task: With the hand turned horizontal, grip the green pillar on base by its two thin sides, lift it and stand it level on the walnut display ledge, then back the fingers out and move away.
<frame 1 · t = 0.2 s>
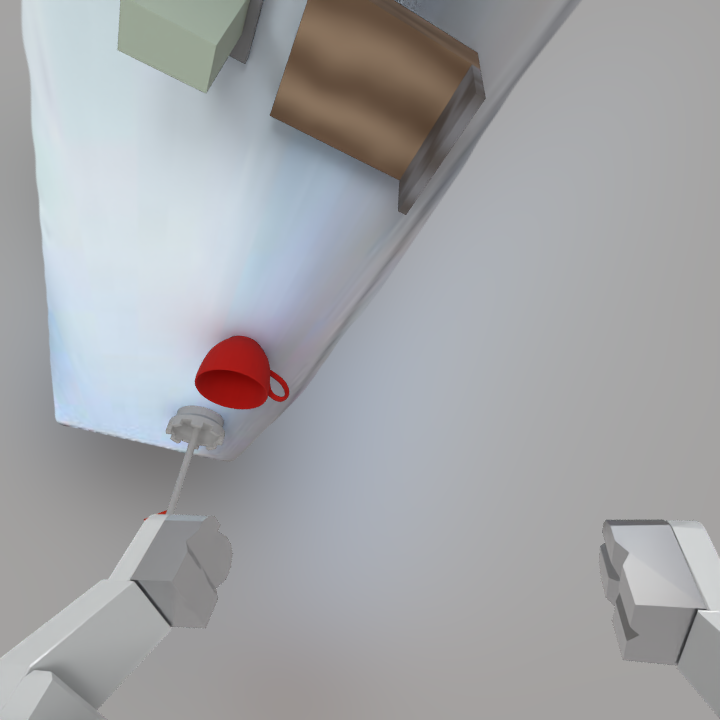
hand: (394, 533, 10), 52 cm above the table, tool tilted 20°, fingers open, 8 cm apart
display ledge: (372, 76, 51), on the table
flag stand: (201, 416, 115), on the table
ceramic cup: (254, 349, 91), on the table
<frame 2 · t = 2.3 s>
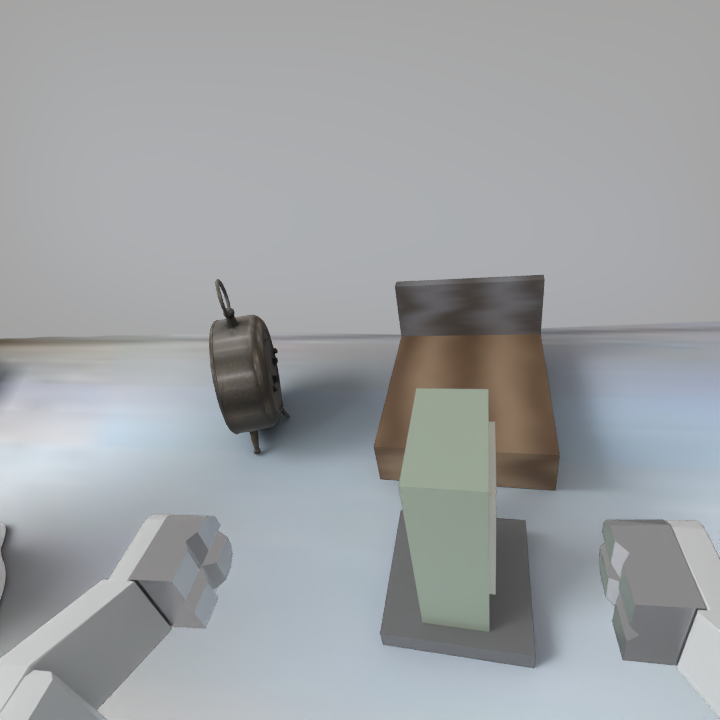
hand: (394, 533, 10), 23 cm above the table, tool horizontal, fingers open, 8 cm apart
display ledge: (467, 413, 46), on the table
alarm clock: (269, 423, 49), on the table
green pillar on base: (459, 584, 32), on the table
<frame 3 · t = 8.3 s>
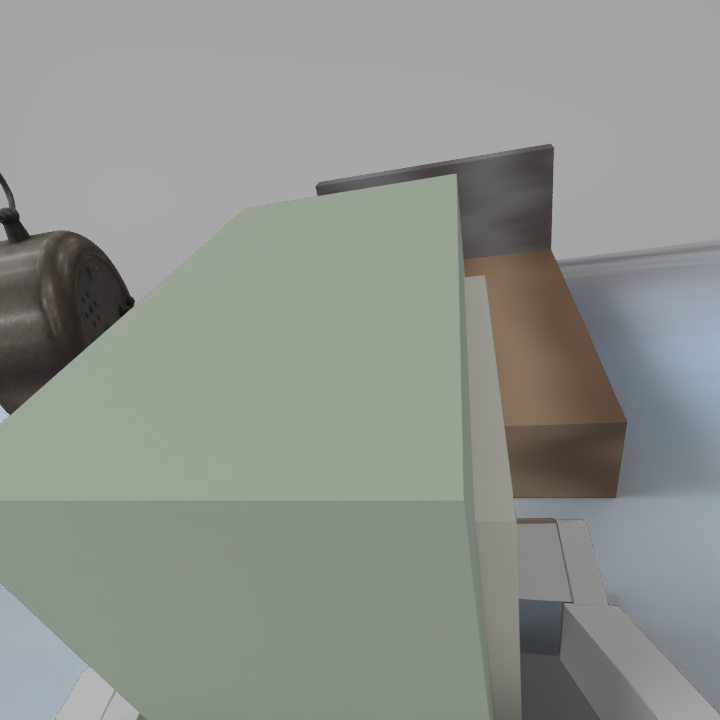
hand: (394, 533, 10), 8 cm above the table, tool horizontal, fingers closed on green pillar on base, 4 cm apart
display ledge: (441, 379, 27), on the table
alarm clock: (129, 419, 31), on the table
when the fingers open (13 cm above the table, at t = 15.8 s): green pillar on base drops 1 cm, resting on display ledge.
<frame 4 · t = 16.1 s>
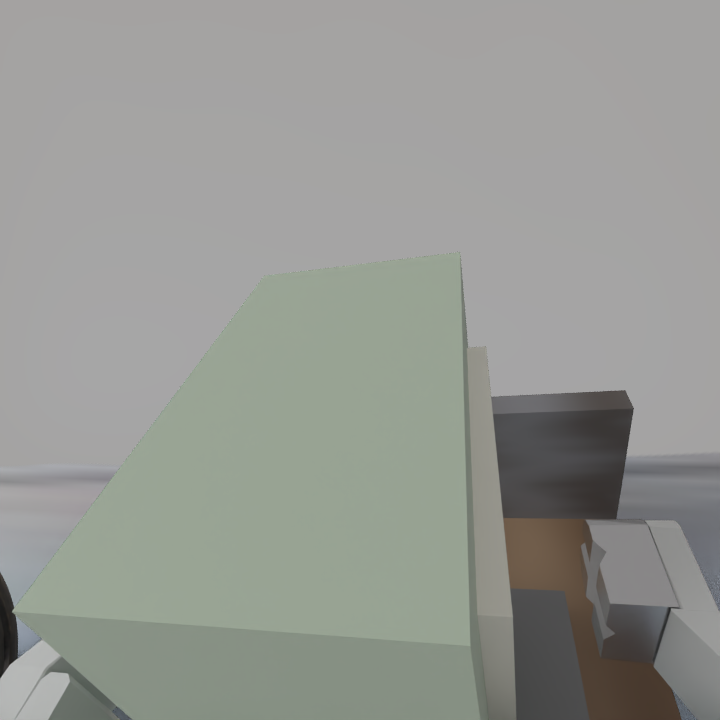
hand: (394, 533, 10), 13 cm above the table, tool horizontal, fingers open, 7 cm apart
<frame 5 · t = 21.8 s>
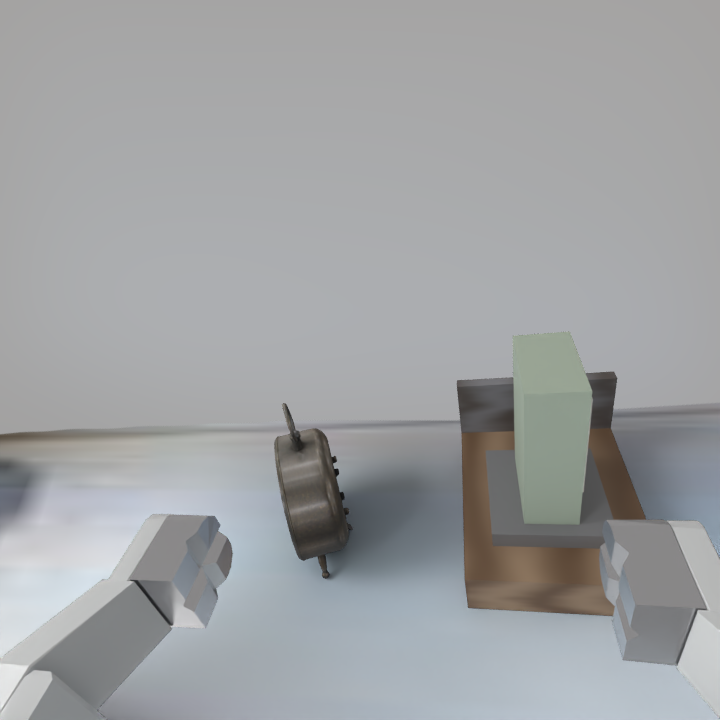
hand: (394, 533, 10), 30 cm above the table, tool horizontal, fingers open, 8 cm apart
display ledge: (544, 519, 43), on the table
alarm clock: (331, 535, 47), on the table
green pillar on base: (544, 500, 40), point 4 cm above the table, touching display ledge
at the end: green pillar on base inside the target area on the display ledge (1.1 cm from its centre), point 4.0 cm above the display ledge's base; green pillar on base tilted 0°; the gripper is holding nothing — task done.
